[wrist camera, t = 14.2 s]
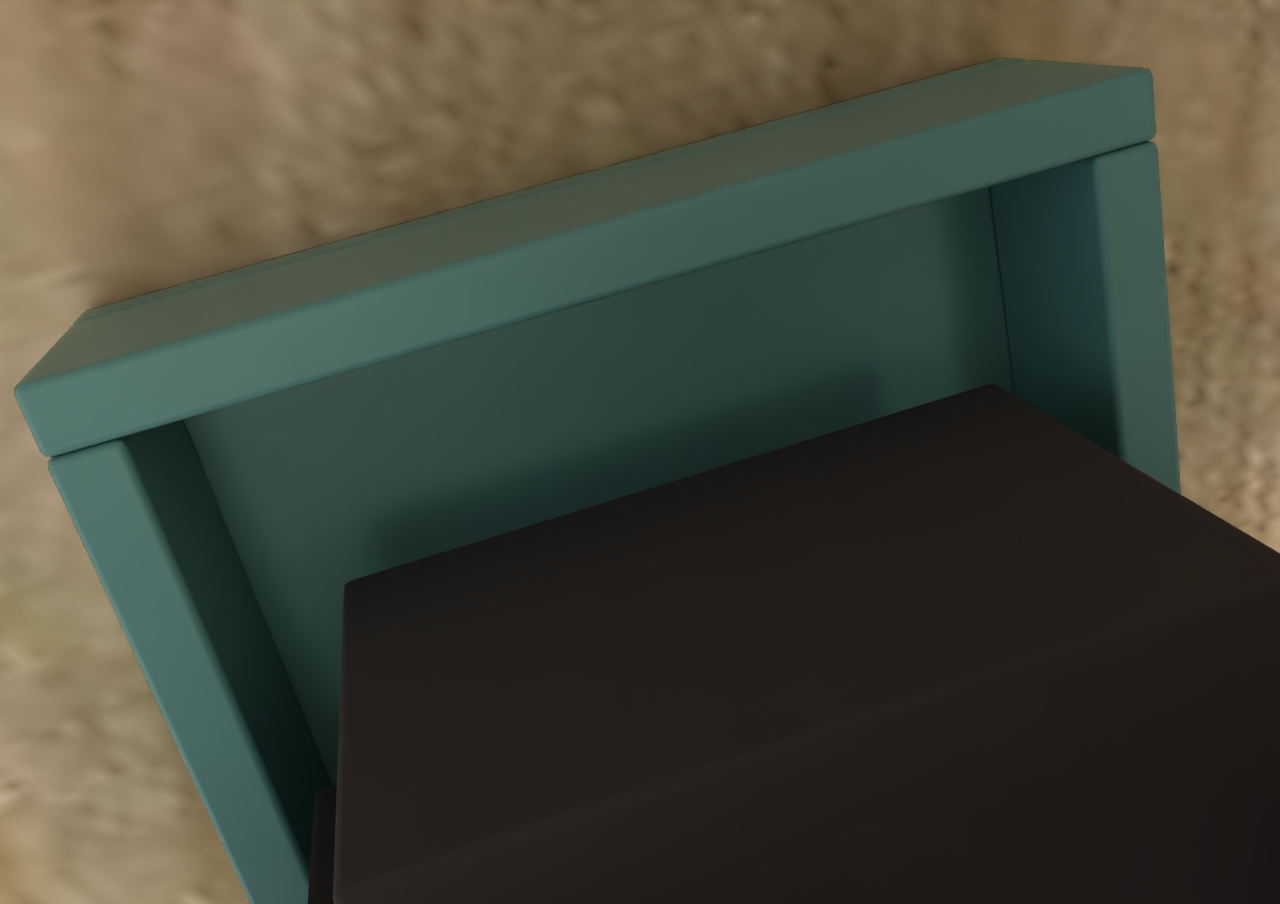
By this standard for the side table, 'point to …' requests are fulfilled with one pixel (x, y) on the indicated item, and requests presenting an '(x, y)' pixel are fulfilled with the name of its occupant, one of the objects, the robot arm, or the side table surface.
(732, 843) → the loose pad
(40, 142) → the side table surface
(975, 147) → the tray
